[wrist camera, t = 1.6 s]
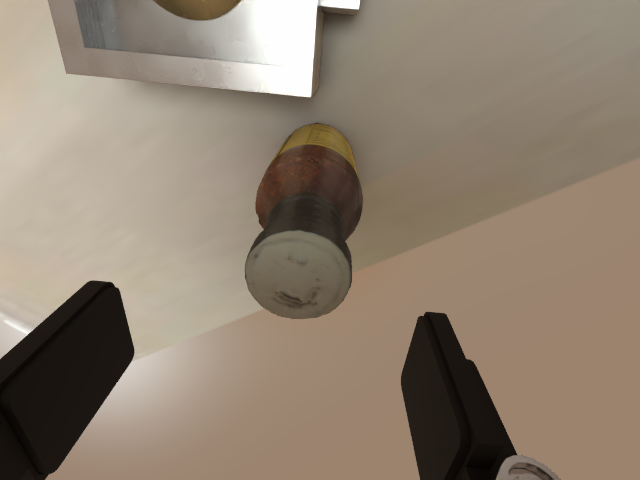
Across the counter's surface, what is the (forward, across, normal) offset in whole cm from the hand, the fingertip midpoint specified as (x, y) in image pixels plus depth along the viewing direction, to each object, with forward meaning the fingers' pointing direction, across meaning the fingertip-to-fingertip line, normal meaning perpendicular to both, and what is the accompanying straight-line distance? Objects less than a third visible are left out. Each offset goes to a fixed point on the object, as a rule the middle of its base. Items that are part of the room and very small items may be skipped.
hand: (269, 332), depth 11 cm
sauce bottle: (+22, -1, 0) cm, 22 cm away
